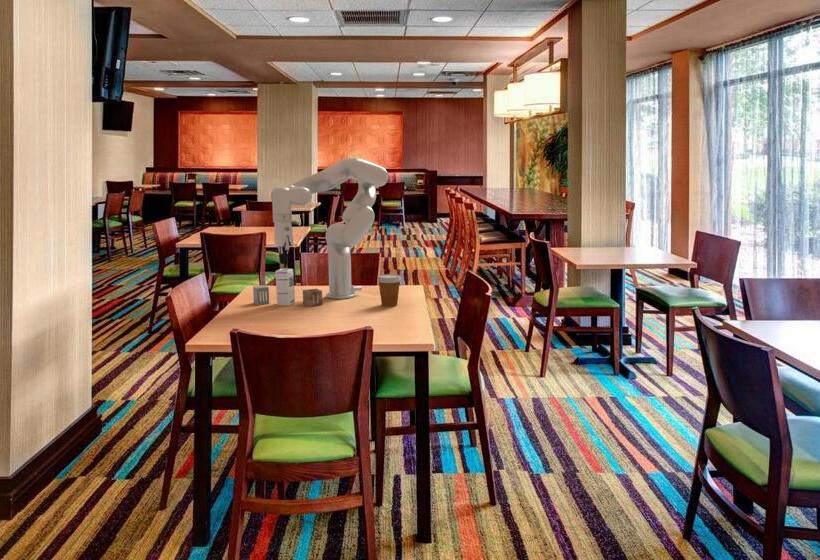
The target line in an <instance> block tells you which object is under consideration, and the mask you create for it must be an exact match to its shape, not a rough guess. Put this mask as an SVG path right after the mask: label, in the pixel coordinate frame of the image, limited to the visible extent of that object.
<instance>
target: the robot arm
mask: <svg viewBox="0 0 820 560" xmlns="http://www.w3.org/2000/svg"><path fill="white" fill-rule="evenodd" d="M351 179H356V180H357V184H358V189H357V193H356V195H355V196H354V197H353V199H352V201H351V202H349V204H348V205H347V206H346V208H345V209H344V211H343V213H342V221H343V222H344V223H341V222H340V223H337V222H336V223H333V224H330V225H329V226H328V227H327V229H326V231H325V242H326V247H327V253H328V254H327V256H328V259H327V260H328V261H327V263H328V289H329V292H326V294H325V298H327V299H335V300H337V299H338V300H342V299H343V300H344V299H350V298H354V297H355V296H356V293H355V292H359V291H362V289H363V287H362V286H361V285H359V286H357V285H356V286H355V285H353V284H352V256H351V255H352V254H351V249H350V248H353V247H356V246H358V244H359V243H361V241H362V240H363V238H364V237H365V236H366V234H367V233H368V231H369V230H370V229H371V228H372V226H373V224H374V223H375V222H374V221H375V216H376V215H375V212H374V210H373V208H372V207H373V205H374V204H375V202H376V199H377V190H376V188H378V187H380V188H381V187H383V186H385V185H386V184H387V183H388V180H389V173H388V171H387V170H386V168H385V167H383V166H380V165H378V164H375V163H373V162H370V161H367V160H365V159H361V158H359V157H348V158H347V157H346V158H343V159H340V160H339V161H337V162H335V163H334V164H332V165H330V166H327V167H326V168H325V169H322V170H321V171H318V172H316V173H313V174H311V175H308V176H306V177H304V178H301V179H299V180H298V181H295V182H294V183H292V184H290V185H289V186H287V187H284V186H282V187H273V189H272V192H271V194H272V195H271V199H272V200H271V201H272V223H274V228H273V230H274V231H273V233H274V235H273V236H274V244H275V245H276V246H277V248H278V259H279V261H278V262H279V264H281V265H282V264H283V265H285V264H288V263H289V250H290V247H293V246H294V234H293V226H292V221H293V220H292V219H293V218H292V217H293V216H292V214H293V213H292V205H293V206H295V205H296V206H306V205H307V204H309V203H310V202H311V201H312V197H313V196H312V195H313V194H316V193H323V192H327V191H330V190H332V189H334V188H336V187H337V186H340V185H341V184H343V183H345V182H347V181H348V180H351Z"/></svg>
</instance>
